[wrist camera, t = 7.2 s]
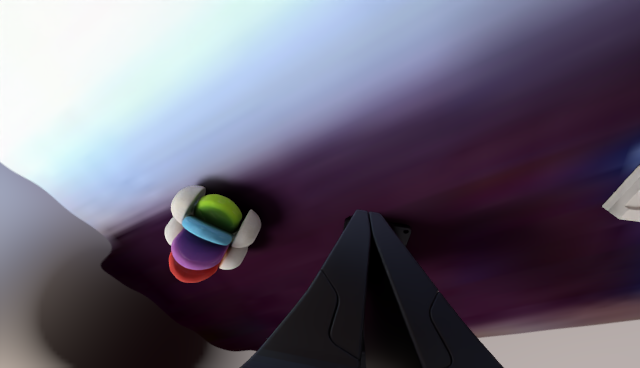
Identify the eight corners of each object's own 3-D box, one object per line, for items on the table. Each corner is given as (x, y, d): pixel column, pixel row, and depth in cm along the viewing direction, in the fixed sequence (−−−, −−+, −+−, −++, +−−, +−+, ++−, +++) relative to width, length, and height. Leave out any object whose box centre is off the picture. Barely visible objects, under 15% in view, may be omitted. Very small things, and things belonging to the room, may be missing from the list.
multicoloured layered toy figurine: (177, 225, 29) (129, 278, 23) (195, 165, 23) (139, 213, 17) (243, 256, 30) (214, 313, 24) (273, 206, 25) (246, 263, 19)
